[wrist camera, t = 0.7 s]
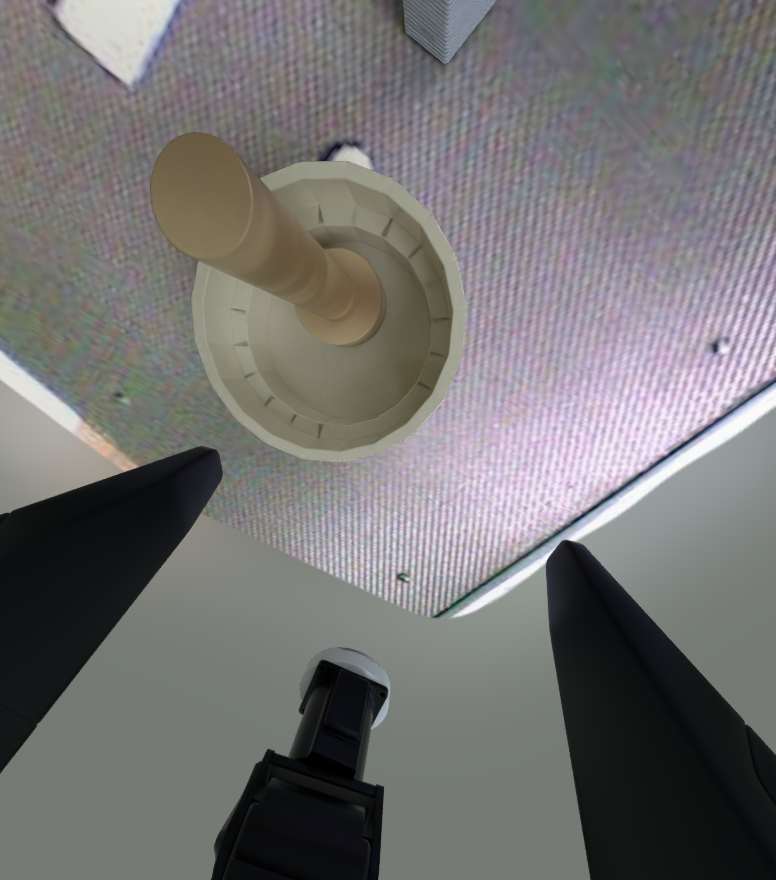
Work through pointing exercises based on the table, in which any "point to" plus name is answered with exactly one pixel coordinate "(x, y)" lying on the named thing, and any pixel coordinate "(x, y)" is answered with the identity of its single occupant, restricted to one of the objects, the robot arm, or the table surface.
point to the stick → (261, 240)
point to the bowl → (330, 366)
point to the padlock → (443, 23)
